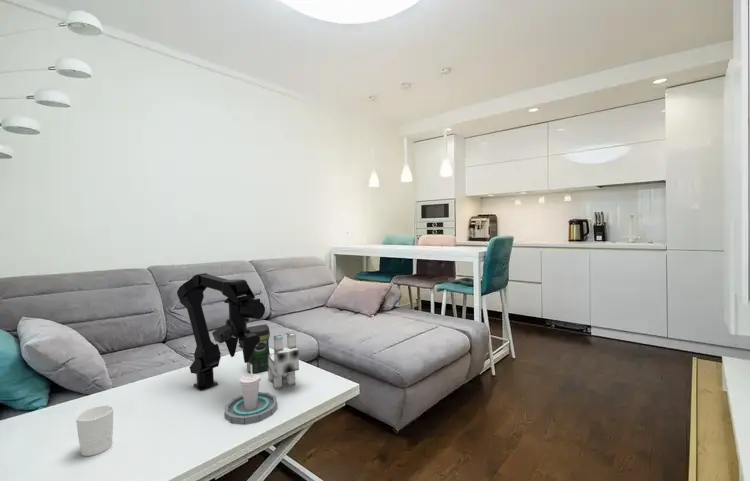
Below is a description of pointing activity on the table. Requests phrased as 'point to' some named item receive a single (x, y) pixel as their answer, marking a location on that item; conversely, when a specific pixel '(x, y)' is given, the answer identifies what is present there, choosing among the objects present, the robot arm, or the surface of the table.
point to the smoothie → (250, 389)
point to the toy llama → (283, 361)
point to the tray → (240, 415)
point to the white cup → (95, 430)
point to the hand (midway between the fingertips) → (239, 359)
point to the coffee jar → (259, 349)
